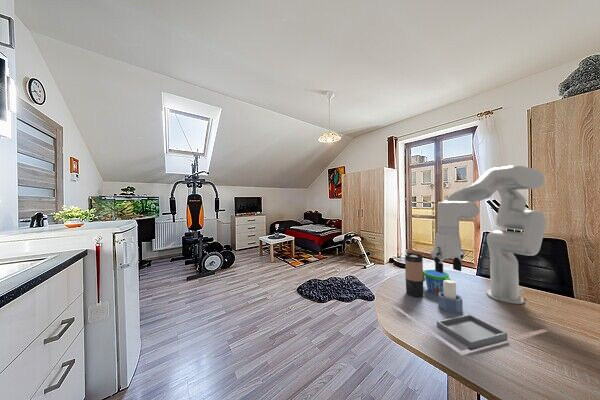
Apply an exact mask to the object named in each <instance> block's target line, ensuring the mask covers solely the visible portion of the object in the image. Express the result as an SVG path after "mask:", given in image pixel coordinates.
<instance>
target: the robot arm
mask: <svg viewBox="0 0 600 400" xmlns="http://www.w3.org/2000/svg"><path fill="white" fill-rule="evenodd" d="M544 182H545V175H544V173H543V172H542V171H540V170H538V169H537V168H533V167H532V168H531V167H527V166H524V165H516V164H515V165H506V166H501V167H499V166H498V167H492V168H490V169H487V170H486V171H484V173H482V174H481V175H480V176H479V177H478V178H477V179H476V180H475V181H473V183H472V184H470V185H469V186H466V187H464V188H462V189H460V190H457V191H455V192H453V193H451V194H449V195H448V197H446V198H445V199H444V200H443V201H440V202H438V203H437V209H436V210H437V233H435V237H434V245H433V250H432V251H430V256H431V258H432V259H431V260H432V261H434V267H435V268H434V270H435V271H437V272H439V273H443V272H444V263H443V261H444V260H445V259H452V269H453V270H454V271H458V272H462V262H463V259H464V257H465V253H466V250H465V249H463V248H462V241H461V235H460V219H464V220H469V219H470V220H471V219H472V220H473V219H475V218H476V217H477V216H478V215H479V213H480V207H479V206H478V204H476V203H475V202H480V201H483V200H484V201H485V200H487V199H489V198H491V196H493V195H494V194H495V193H496V191H497V192H498V195H499V196H500V205H499V207H498V210H497V211H498V212H497V215H496V221H495V222H496V225H497V226H498V227H499V228H501V230H500V229H499V230H497V229H496V230H492V231H490V232H489V233H487V236H486V243H487V247H488V250H489V251H488V252H489V266H490V267H489V271H490V275H489V276H490V289H488V290H486V295H487V296H488V297H490V298H491V299H493V300H495V301H499V302H502V303H506V304H511V305H521V304H524V303H525V299H524V298H523V297H522V296H520V294H521V293H522V294H523V293H524V291H525V290H524V289H523V288H522V287H519V286H520V285H519V284H520V283H519V282H520V280H519V261H518V259H517V256H515V255H516V254H517V255H522V256H527V257H528V256H530V257H531V256H532V257H533V256H536V255H537V254H538V253H539V252H540V250H541V246H542V243H543V239H544V235H545V231H546V226H547V225H546V224H547V221H546V217H545V215H544V214H543V213H542V212H541V211H539V210H536V209H535V210H534V209H526V204H527V200H526V198H525V196H523V194H521V192H519V191H518V190H533V189H539V188H540V187H542V186H543V184H544ZM502 229H504V230H502ZM505 229H506V230H505ZM508 230H509V231H508ZM511 230H514V231H511ZM517 231H523V232H517Z"/></svg>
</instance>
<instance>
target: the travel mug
mask: <svg viewBox="0 0 600 400" xmlns="http://www.w3.org/2000/svg"><path fill="white" fill-rule="evenodd" d="M404 260H405V263H404V264H405V274H404V275H405V276H404V277H405V292H406V294H407V295H408V296H409V297H413V298H422V297H424V281H423V271H424V263H423V262H424V261H423V255H422V254H418V253H407V254H405V255H404Z"/></svg>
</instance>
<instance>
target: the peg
mask: <svg viewBox="0 0 600 400" xmlns="http://www.w3.org/2000/svg"><path fill="white" fill-rule="evenodd" d="M443 291H444V297H445V298H447V299H452V300H456V295H457V282H456V281H454V280H451V281H450V280H444V281H443Z"/></svg>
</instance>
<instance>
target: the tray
mask: <svg viewBox="0 0 600 400" xmlns="http://www.w3.org/2000/svg"><path fill="white" fill-rule="evenodd" d="M436 326H437V327H439V328H440V329H442V330H443V331H445V332H447V333H448V334H450V335H451V336H453V337H455V339H457V340H459V341H460V342H461V343H464V344H465V345H467V346H468V348H467V349H468V350H470V351H473V350H478V349H482V348H485V347H489V346H493V345H496V344H501V343H504V342H507V341H508V332H506V331H504V330H502V329H500V328H498V327H496V326H494V325H492V324H490V323H488V322H487V321H484V320H482V319H480V318H479V317H476V316H475V315H472V314H470V313H469V314H464V315H460V316H459V315H458V316H455V317H450V318H445V319H441V320H436Z"/></svg>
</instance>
